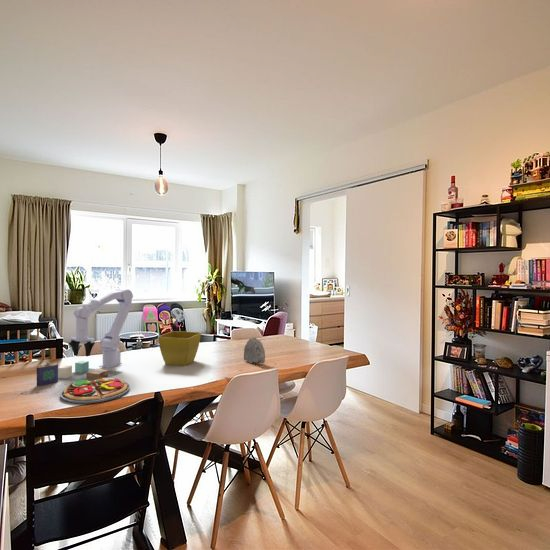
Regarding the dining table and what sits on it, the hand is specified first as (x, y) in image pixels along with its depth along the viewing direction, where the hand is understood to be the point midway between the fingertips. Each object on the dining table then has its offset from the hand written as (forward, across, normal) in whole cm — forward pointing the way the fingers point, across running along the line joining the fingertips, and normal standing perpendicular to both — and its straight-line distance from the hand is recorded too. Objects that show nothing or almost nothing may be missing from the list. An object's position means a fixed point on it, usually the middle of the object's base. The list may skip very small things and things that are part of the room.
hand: (81, 355), depth 192 cm
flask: (+9, 0, -21) cm, 23 cm away
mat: (+9, +9, -4) cm, 13 cm away
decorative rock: (+9, +81, +46) cm, 94 cm away
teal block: (+9, 0, 0) cm, 9 cm away
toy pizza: (+9, +30, -24) cm, 39 cm away
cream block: (+9, -1, -10) cm, 13 cm away
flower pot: (+9, +39, +33) cm, 52 cm away
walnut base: (+9, +15, -6) cm, 18 cm away
